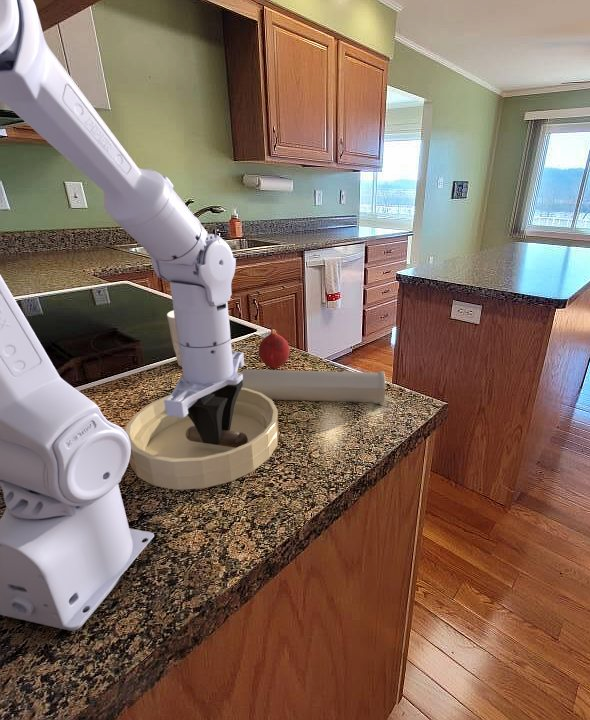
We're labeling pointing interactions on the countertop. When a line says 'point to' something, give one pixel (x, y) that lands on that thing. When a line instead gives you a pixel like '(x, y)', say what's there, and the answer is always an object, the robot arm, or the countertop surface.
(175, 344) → the white cup
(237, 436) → the stick
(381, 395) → the tube
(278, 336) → the onion
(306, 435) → the countertop surface
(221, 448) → the bowl
